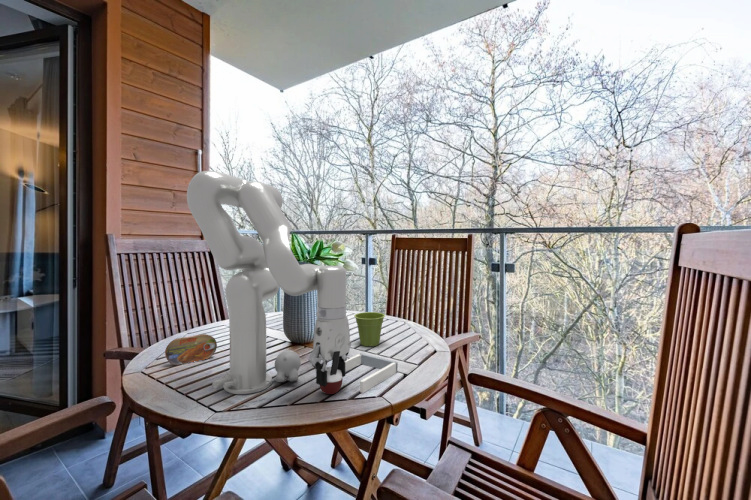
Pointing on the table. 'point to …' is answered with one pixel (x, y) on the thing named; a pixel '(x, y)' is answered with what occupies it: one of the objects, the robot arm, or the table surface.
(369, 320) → the plant pot
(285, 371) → the chubby cartoon animal
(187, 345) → the tin
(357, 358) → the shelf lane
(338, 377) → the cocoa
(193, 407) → the table surface
